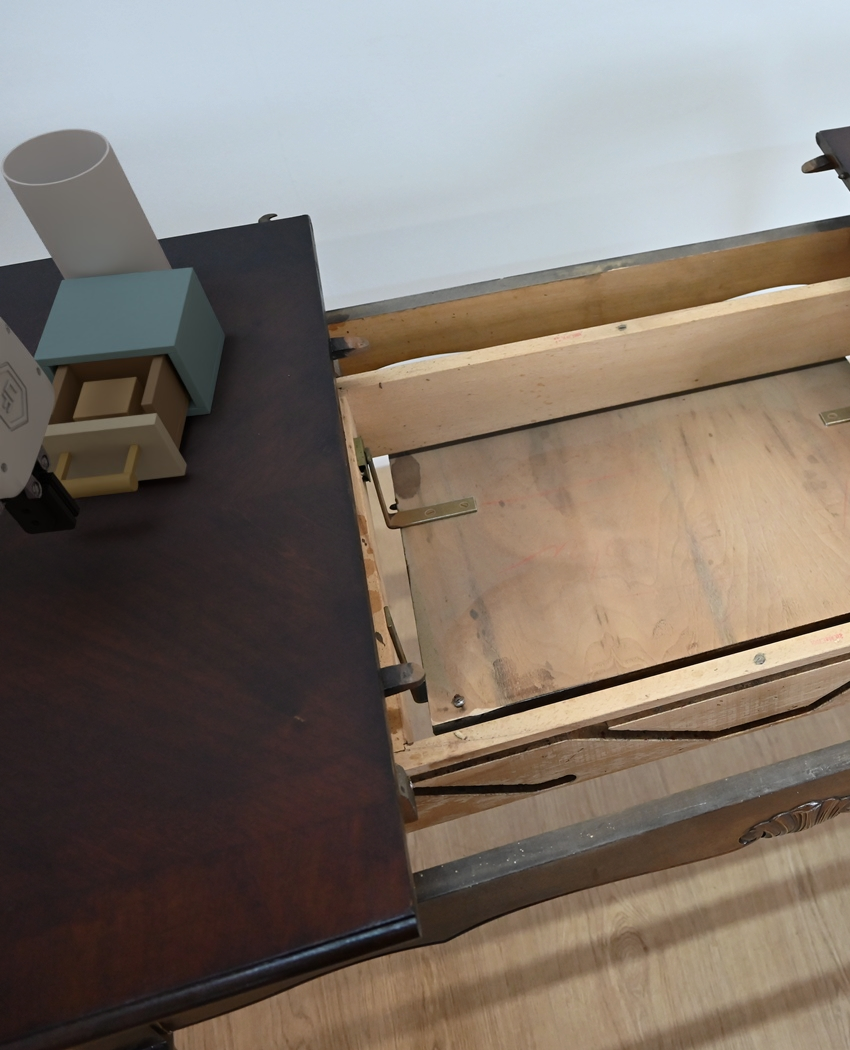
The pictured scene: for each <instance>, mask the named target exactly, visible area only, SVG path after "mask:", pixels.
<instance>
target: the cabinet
mask: <svg viewBox="0 0 850 1050" xmlns="http://www.w3.org/2000/svg"><path fill="white" fill-rule="evenodd" d="M225 339H226V335H225V332H224V330H223V328H222V326H221V324H220V322H219V319H218V318H217V315H216V314H215V311H214V309H213V307H212V305H211V303H210V301H209V298H208V296H207V294H206V292H205V290H204V288H203V286H202V283H201V281H200V280H199V277H198V275H197V273H196V271H195V269H194V267H192V266H191V267H182V268H172V269H170V270H159V271H149V272H139V273H128V274H118V275H108V276H97V277H87V278H77V279H66V280H65V279H62V280H61V281H60V283H59V287H58V290H57V293H56V295H55V299H54V301H53V304H52V306H51V309H50V312H49V315H48V317H47V320H46V323H45V325H44V328H43V331H42V333H41V336H40V339H39V342H38V345H37V348H36V351H35V353H34V356H33V358H34V359H35V361H36V362H37V363H38V365H39V366H40V368H41V369H42V370H43V372H44V373H45V375H46V376H47V378H48V379H49V381H50V382H51V384H52V383H53V380H54V377H55V374H56V371H57V368H58V365H63V364H73V363H82V362H92V361H102V360H111V359H121V358H130V357H140V356H150V355H159V354H168V355H169V356H170V358H171V360H172V362H173V364H174V366H175V368H176V370H177V371H178V373H179V375H180V377H181V379H182V381H183V383H184V384H185V386H186V388H187V390H188V392H189V394H190V401H189V405H188V410H187V415H186V417H193V416H194V417H195V416H203V415H210V414H211V411H212V406H213V401H214V396H215V390H216V385H217V379H218V376H219V375H218V374H219V369H220V364H221V360H222V354H223V349H224V345H225Z"/></svg>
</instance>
